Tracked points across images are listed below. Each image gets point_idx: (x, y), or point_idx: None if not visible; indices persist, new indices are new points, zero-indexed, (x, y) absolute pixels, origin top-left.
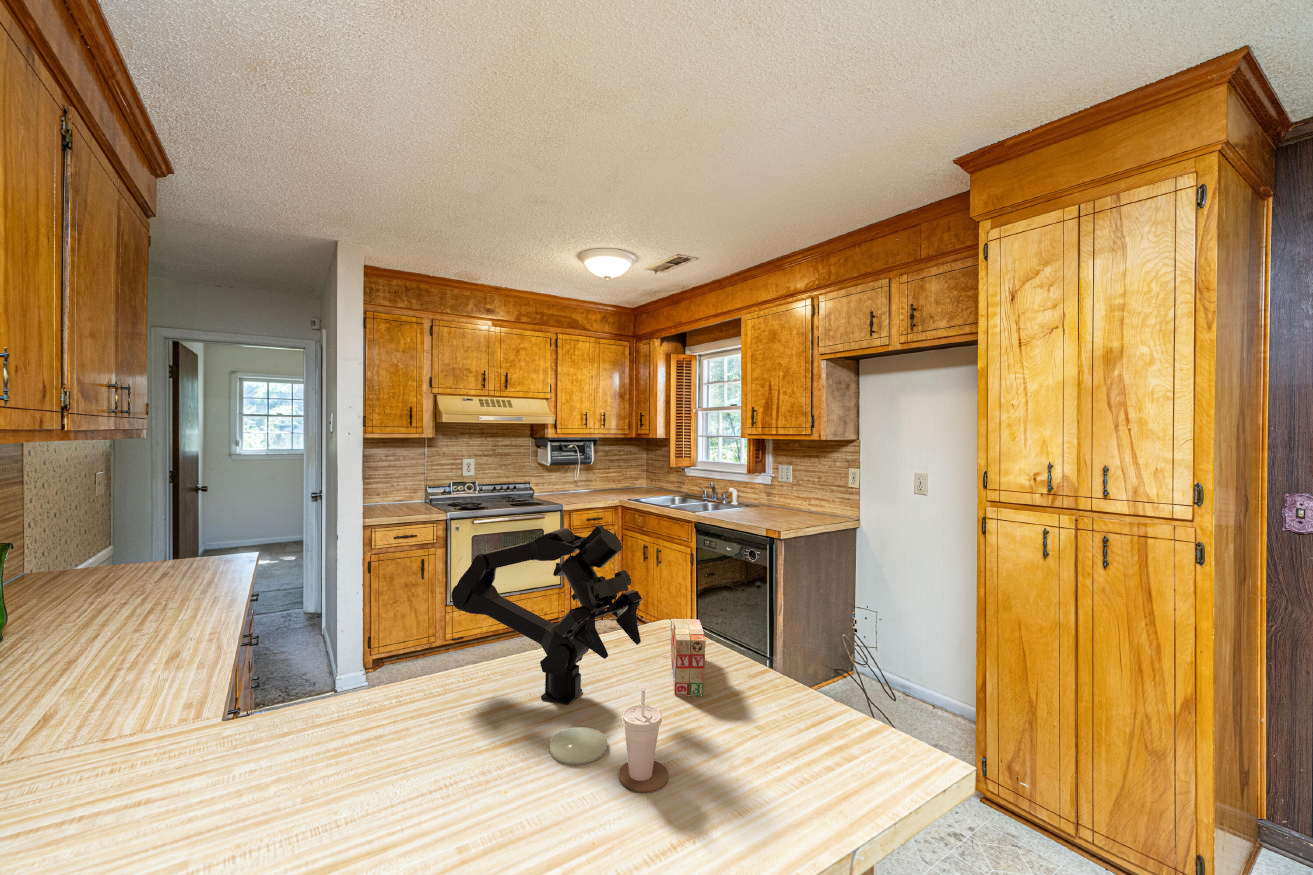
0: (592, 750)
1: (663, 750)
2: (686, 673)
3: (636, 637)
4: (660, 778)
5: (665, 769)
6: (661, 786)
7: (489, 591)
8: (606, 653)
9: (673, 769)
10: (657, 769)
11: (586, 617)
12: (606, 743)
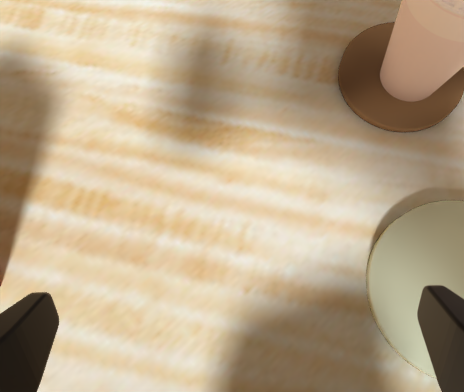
0: (455, 224)
1: (279, 114)
2: None
3: (28, 329)
4: (384, 36)
5: (350, 49)
6: None
7: None
8: (447, 295)
9: (322, 52)
10: (364, 61)
11: None
12: (397, 221)
